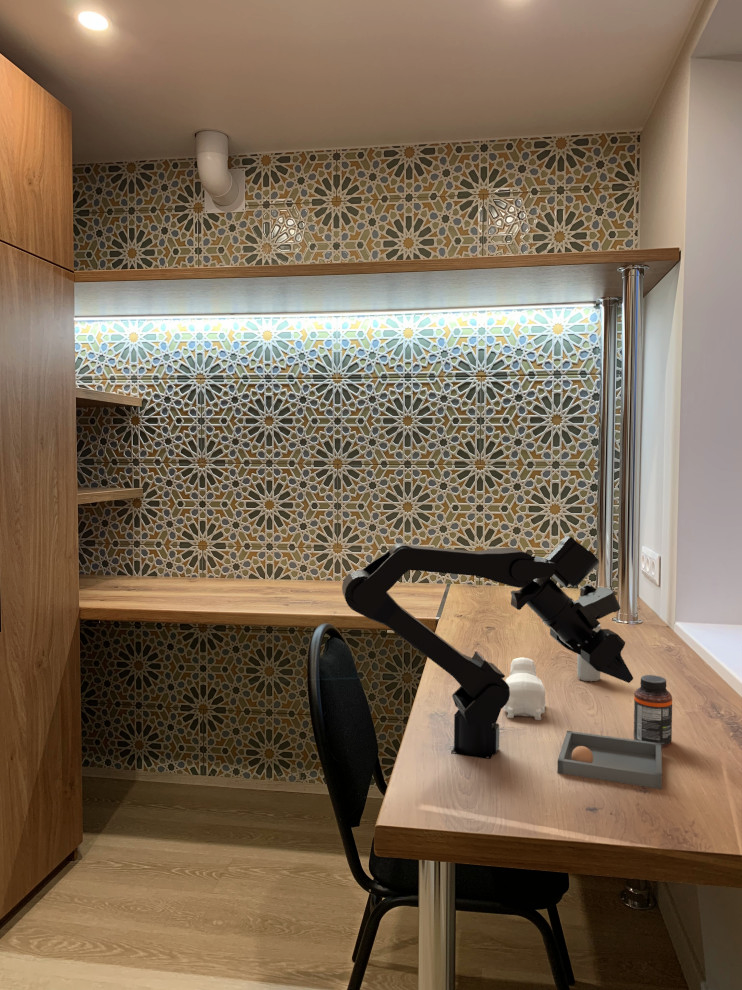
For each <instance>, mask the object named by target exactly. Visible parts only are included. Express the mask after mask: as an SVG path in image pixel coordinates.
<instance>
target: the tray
mask: <svg viewBox="0 0 742 990" xmlns="http://www.w3.org/2000/svg"><path fill="white" fill-rule="evenodd" d="M578 746H585V747H587V748H588V749H590V751H591V752H592V754H593V762H592V763H587V762H581V761H574V760H572V752H573V750H574V749H575V748H576V747H578ZM662 763H663V762H662V748H661V743H654V742H647V741H640V740H634V739H632V738H631V739H630V738H624V737H618V736H617V737H616V736H610V735H602V734H594V733H588V732H580V731H579V732H578V731H572V730H566V733H565V736H564V738H563V742H562V745H561V748H560V751H559V754H558V758H557V773H558V774H562V775H569V776H574V777H582V778H587V779H595V780H601V781H607V782H614V783H620V784H626V785H634V786H640V787H644V788H645V787H646V788H651V789H659V790H662V785H663V784H662V781H663V780H662V779H663V774H662V773H663V772H662V771H663V769H662Z"/></svg>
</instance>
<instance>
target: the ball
mask: <svg viewBox="0 0 742 990" xmlns="http://www.w3.org/2000/svg"><path fill="white" fill-rule="evenodd" d="M572 760H574V761H581V762H587V763H592V762H593V754H592V752H591V751H590V749H588V748H587V747H585V746H578V747H576V748H575V749H574V750H573V752H572Z"/></svg>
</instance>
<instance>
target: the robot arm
mask: <svg viewBox="0 0 742 990" xmlns="http://www.w3.org/2000/svg"><path fill="white" fill-rule="evenodd" d="M599 564H600V561H599V559H598V558H597V556H596V555H595V554H594V553H593V552H592V551H591V550H589V549H587V548H586V547H585V546H584V545H583V544H581V543H579V542H578V541H576V540H575V538H573V536H569V535H565V536H564V537H563V538H562V539H561V540H560V541H559V544H558V545H557V546H556V547H555V549H553V551H551V552H550V553H549V554H548V555H547V556H546V557H545V558H544V557H541V556H539V555H536V556H534V555H531V554H529V553H528V552H525V551H523V550H521V549H518V548H516V547H510V546H508V547H496V548H495V547H494V548H489V549H483V550H476V551H473V550H467V549H466V550H465V549H464V550H463V549H455V548H454V549H452V548H442V547H433V546H431V547H430V546H423V545H411V544H406V543H404V542H400V543H398V542H397V543H396V544H394V545H393V546H392V547H390V549H389V550H388V551H386V552H385V553H383V554H382V555H381V556H379V557H377V558H376V559H374V560H373V561H371V562H369V564H367V565H366V566H365V567H364V568H362V569H360V570H359V569H358V570H354V571H351V572H349V573H347V575H346V576H345V578H344V580H342V584H341V585H342V586H341V591H342V595H343V597H344V600H345V602H346V604H347V606H348V607H349V608H350V609H351V610H352V611H353V612H356V613H357V614H359V615H361V616H363V617H364V618H367V619H369V620H372V621H373V622H376V623H379V624H382V625H383V626H386V627H387V628H389V629H390V630H392V631H393V632H394V633H395V634H397V635H398V636H399V637H400V638H402V639H403V640H404V641H406V642H407V643H409V644H410V646H412V647H413V648H415V649H416V650H418V651H419V652H420V653H422V654H423V655H424V656H425V657H427V658H428V659H429V660H430V661H432V662H433V663H435V664H436V665H437V666H439V667H440V668H441V669H442V670H443V671H445V672H446V673H448V674H449V675H450V676H451V677H453V678H454V680H456V682H457V683H458V684H459V685H460V686H459V687H458V688H457V689H456V690H455V692H453V693H452V695H451V697H452V700H453V702H454V705H455V707H456V708H457V711H456V712H455V713H454V716H453V717H454V719H453V721H454V722H453V723H454V724H453V725H454V727H453V731H454V732H453V733H454V734H453V748H452V750H451V752H450V754H451V755H459V756H465V757H466V756H467V757H472V758H477V759H478V758H479V759H486V760H491V759H492V757H493V756H494V755H496V754H497V753H498V750H499V749H500V724H499V723H497V722H498V719H499V717H500V713H501V711H502V709H503V707H504V706H505V705H506V703H507V702H508V700H509V696H510V690H509V686H508V684H507V683H506V682H505V681H506V680H505V679H504V678H505V677H506V675H505V674H504V673H503V672H502V671H501V670H500V669H499V668H498V667H497V666H496V665H495V664H494V663H493V662H488V661H486V659H485V658H484V657H483V656H482V655H481V654H480V653H479V652H478V651H475V652H474V653H473V656H472V657H471V656H469V655H465V654H463V653H462V652H460V651H459V650H458V649H456V647H454V646H453V645H451V644H450V643H448V641H446V640H445V639H443V638H442V637H441V636H440V635H438V634H437V633H436V632H434V631H433V630H432V629H430V628H429V627H428V626H427V625H425V624H424V623H423V622H422V621H420V620H419V619H418V618H416V617H415V616H414V615H412V614H411V613H410V612H409V611H407V610H406V609H404V607H402V606H401V605H400V604H398V603H397V602H396V600H395V599H394V598H393V597H392V596H391V595H390V593H389V592H388V591H389V590H391V588H393V587H394V585H396V584H397V582H398V581H399V580H400V579H401V578H402V577H403V576H404V575H405V574H406V573H407V572H409V571H417V572H418V571H419V572H428V573H440V574H450V575H460V576H461V575H462V576H471V577H479V578H484V579H486V580H490V581H493V582H496V583H499V584H503V585H506V586H509V587H514V588H518V589H519V590H511V591H510V595H511V599H510V605H511V607H513V608H515V609H516V610H517V611H518V610H519V611H521V609H523V608H524V607H525V605H527V606H528V607H529V608H530V609H531V610H532V611H533V612H534V613H535V614H536V615H537V616H538V617H539V618H540V619H541V620H542V623H543V624H544V625H546V626H547V627H548V628H549V635H550V636H551V637H552V638H553V639H554V640H555V641H556V643H558V644H560V645H561V646H563V648H565V649H567V650H569V651H571V652H573V653H575V654H579V655H581V657H582V658H583V659H584V660H585V661H586V662H587V663H588V664H589V665H590V666H591V667H592V668H594V669H595V670H597V671H599V672H600V673H603V674H606V675H607V676H611V677H613V678H615V679H618V680H620V681H624V682H625V683H629V684H630V683H631V682H632V681H633V680H634V676H633V674H632V673H631V671H630V669H629V668H628V665H627V664H626V662H625V660H624V658H623V656H622V651H623V649H624V647H625V645H626V641H625V640H624V639H623V638H622V637H621V636H620V635H619V634H618V633H616V632H614V631H613V630H611V629H609V628H601V629H600V630H599V631H598V632H595V631H594V630H593V629H595V628H596V627H597V626H598V625H599V624H600V625H601V622H600V621H599V619H602V618H604V617H606V616H609V615H610V614H612V613H617V612H619V611H620V610H621V609H622V608H621V605H620V603H619V601H618V599H617V596H616V594H615V591H614V590H613V589H610V588H608V587H605V586H604V587H603V586H602V587H600V586H598V587H597V588H595V587H594V586H592V585H591V584H588V583H586V584H584V585H582V586H581V587H580V590H579V591H580V592H579V596H578V599H577V600H574V599H573V598H572V597H569V596H568V595H567V593H565V591H563V590H562V588H561V587H560V586H559V585H558V584H556V582H557V583H559V584H560V585H561V586H562V587H563V588H565V589H567V588H568V587H569V586H570V587H571V588H577V587H578V586H579V585H580V584H581V582H583V580H585V578H587V577H588V576H589V574H590V573H591V572H592V571H593V570H594V569H595V568H597V566H598V565H599ZM552 578H553V579H554V580H555V581H556V582H555V581H554V580H553V579H552Z"/></svg>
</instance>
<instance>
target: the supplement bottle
mask: <svg viewBox="0 0 742 990" xmlns="http://www.w3.org/2000/svg"><path fill="white" fill-rule="evenodd" d="M639 683H640V684H639V685H640V686H639V687H638V688H637V689H636V690H635V691H634V700H633V703H634V704H633V705H634V707H633V710H634V711H633V740H640V741H647V742H654V743H661V749H664V748H665V749H666V748H668V747H671V745H672V735H673V734H672V733H673V730H672V729H673V696H672V694H671V692H670V691H668V690H667V679H666V678H665V677H663V676H660V675H652V674H647V675H646V674H645V675H642V676H641V677H640V682H639Z"/></svg>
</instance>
